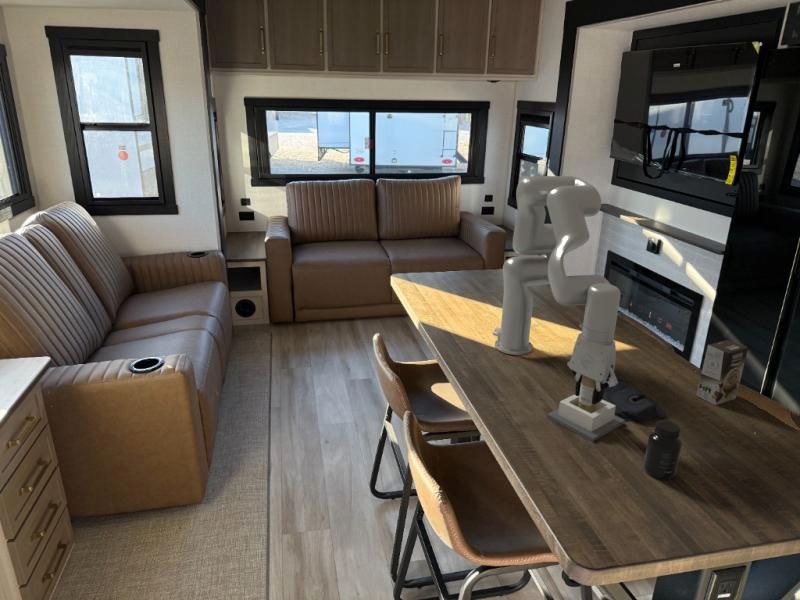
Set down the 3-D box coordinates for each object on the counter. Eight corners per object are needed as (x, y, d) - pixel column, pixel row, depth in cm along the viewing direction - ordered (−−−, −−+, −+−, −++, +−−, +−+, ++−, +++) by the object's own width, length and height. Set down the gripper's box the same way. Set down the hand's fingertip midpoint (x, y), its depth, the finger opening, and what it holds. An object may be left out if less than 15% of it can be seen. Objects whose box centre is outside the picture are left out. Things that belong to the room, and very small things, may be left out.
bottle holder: (546, 417, 150) (548, 400, 149) (578, 401, 158) (580, 385, 157) (592, 441, 140) (595, 424, 138) (624, 423, 148) (627, 406, 146)
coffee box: (716, 406, 158) (728, 353, 152) (695, 395, 163) (706, 344, 157) (736, 399, 162) (749, 347, 156) (715, 389, 167) (727, 338, 161)
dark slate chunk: (626, 382, 171) (628, 368, 169) (670, 421, 151) (674, 405, 149) (578, 385, 169) (580, 371, 167) (617, 425, 148) (619, 409, 146)
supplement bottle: (637, 462, 132) (645, 417, 128) (665, 461, 133) (674, 416, 129) (652, 481, 126) (661, 434, 122) (681, 480, 126) (691, 433, 122)
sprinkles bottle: (598, 414, 148) (605, 367, 143) (586, 418, 146) (593, 371, 141) (584, 406, 152) (591, 360, 147) (572, 410, 149) (579, 364, 145)
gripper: (560, 326, 145) (552, 389, 151) (620, 348, 133) (608, 417, 139) (578, 319, 149) (569, 381, 156) (637, 341, 137) (625, 407, 143)
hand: (588, 397), depth 147 cm, fingers closed on sprinkles bottle, 4 cm apart
